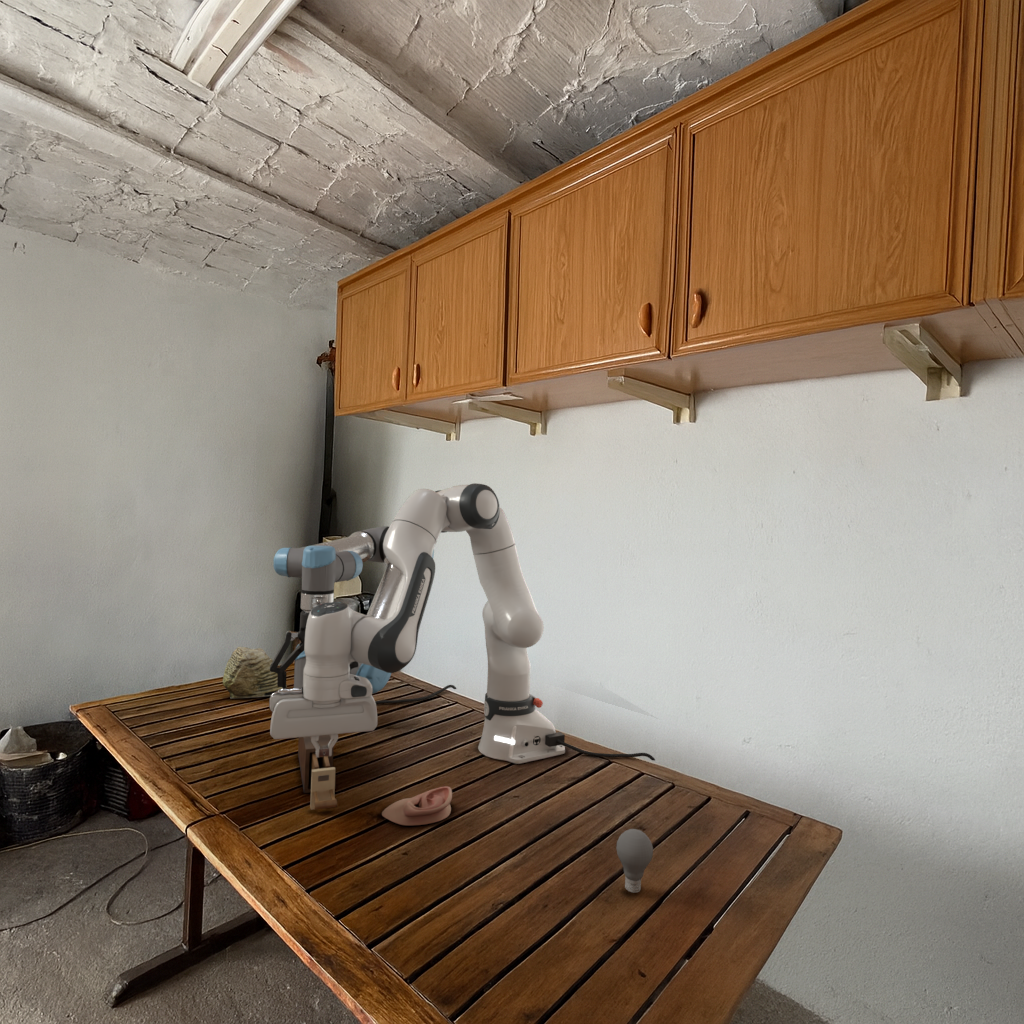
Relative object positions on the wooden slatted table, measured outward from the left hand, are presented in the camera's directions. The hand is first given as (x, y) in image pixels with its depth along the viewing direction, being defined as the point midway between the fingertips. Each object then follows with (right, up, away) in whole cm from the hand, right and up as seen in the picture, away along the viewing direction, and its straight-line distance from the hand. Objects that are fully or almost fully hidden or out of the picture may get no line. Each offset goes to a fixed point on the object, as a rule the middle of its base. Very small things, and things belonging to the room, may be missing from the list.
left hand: (313, 698), depth 152 cm
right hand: (+11, -3, -27) cm, 29 cm away
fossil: (-33, -12, +46) cm, 58 cm away
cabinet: (+2, -15, -6) cm, 16 cm away
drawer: (+7, -14, -18) cm, 24 cm away
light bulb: (+68, -19, -46) cm, 84 cm away
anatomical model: (+28, -16, -24) cm, 40 cm away
